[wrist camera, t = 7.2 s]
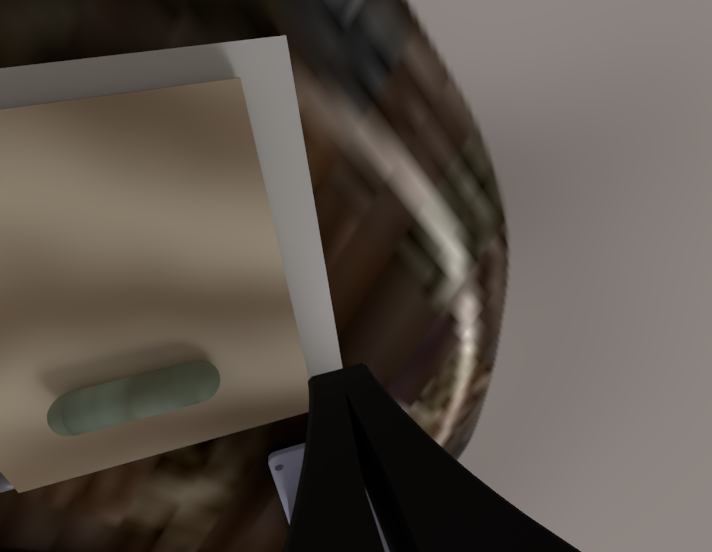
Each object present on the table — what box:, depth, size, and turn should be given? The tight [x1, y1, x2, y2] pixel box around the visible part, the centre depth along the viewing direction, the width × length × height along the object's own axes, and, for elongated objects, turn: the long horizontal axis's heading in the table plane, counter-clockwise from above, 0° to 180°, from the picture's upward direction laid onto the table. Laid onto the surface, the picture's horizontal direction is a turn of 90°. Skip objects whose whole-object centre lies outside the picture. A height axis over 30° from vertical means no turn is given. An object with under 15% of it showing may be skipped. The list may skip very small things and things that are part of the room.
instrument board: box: [0, 77, 309, 493], centre depth 14 cm, size 14×13×3 cm
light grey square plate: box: [0, 35, 342, 493], centre depth 15 cm, size 16×16×2 cm
